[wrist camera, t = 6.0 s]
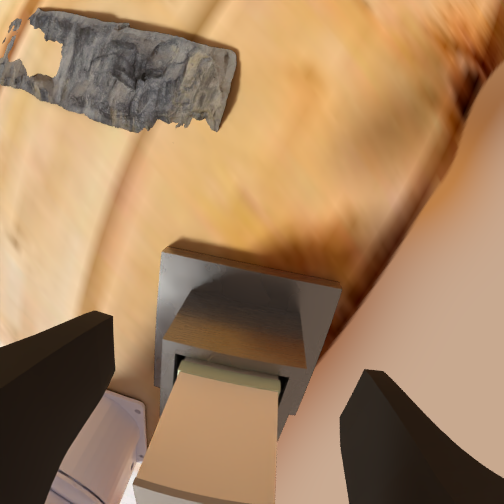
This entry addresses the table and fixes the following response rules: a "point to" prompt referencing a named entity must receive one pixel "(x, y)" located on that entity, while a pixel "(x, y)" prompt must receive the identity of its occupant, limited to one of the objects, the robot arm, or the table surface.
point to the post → (213, 439)
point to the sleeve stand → (241, 321)
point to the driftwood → (126, 73)
